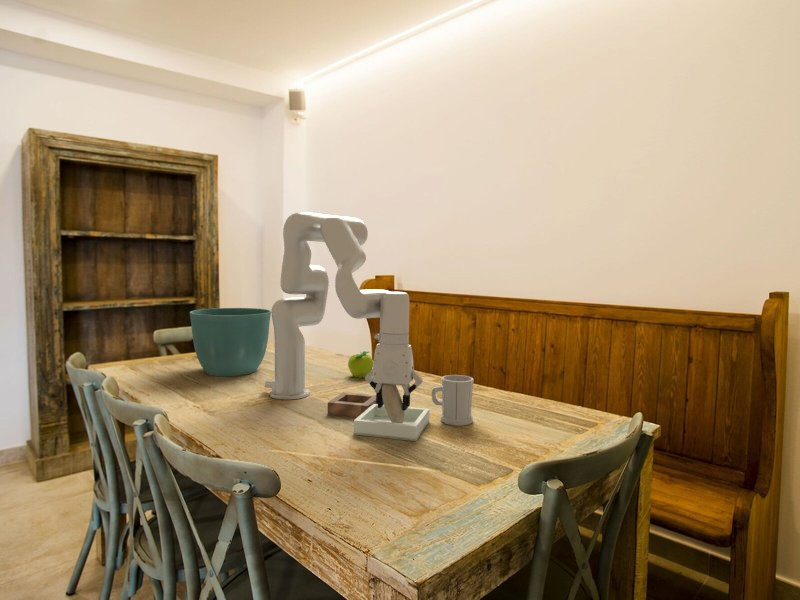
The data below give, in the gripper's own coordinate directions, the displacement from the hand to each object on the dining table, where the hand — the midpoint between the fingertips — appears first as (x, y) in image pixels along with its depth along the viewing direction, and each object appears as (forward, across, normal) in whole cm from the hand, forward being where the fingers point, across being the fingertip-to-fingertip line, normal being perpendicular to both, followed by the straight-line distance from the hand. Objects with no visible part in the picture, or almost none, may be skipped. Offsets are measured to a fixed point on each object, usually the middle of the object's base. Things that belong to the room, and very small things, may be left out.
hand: (392, 407), depth 131 cm
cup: (+6, +14, +10) cm, 19 cm away
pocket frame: (+6, -15, +12) cm, 20 cm away
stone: (+5, 0, 0) cm, 5 cm away
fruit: (+6, -28, +54) cm, 61 cm away
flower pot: (+6, -79, +47) cm, 92 cm away
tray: (+5, 0, 0) cm, 5 cm away
